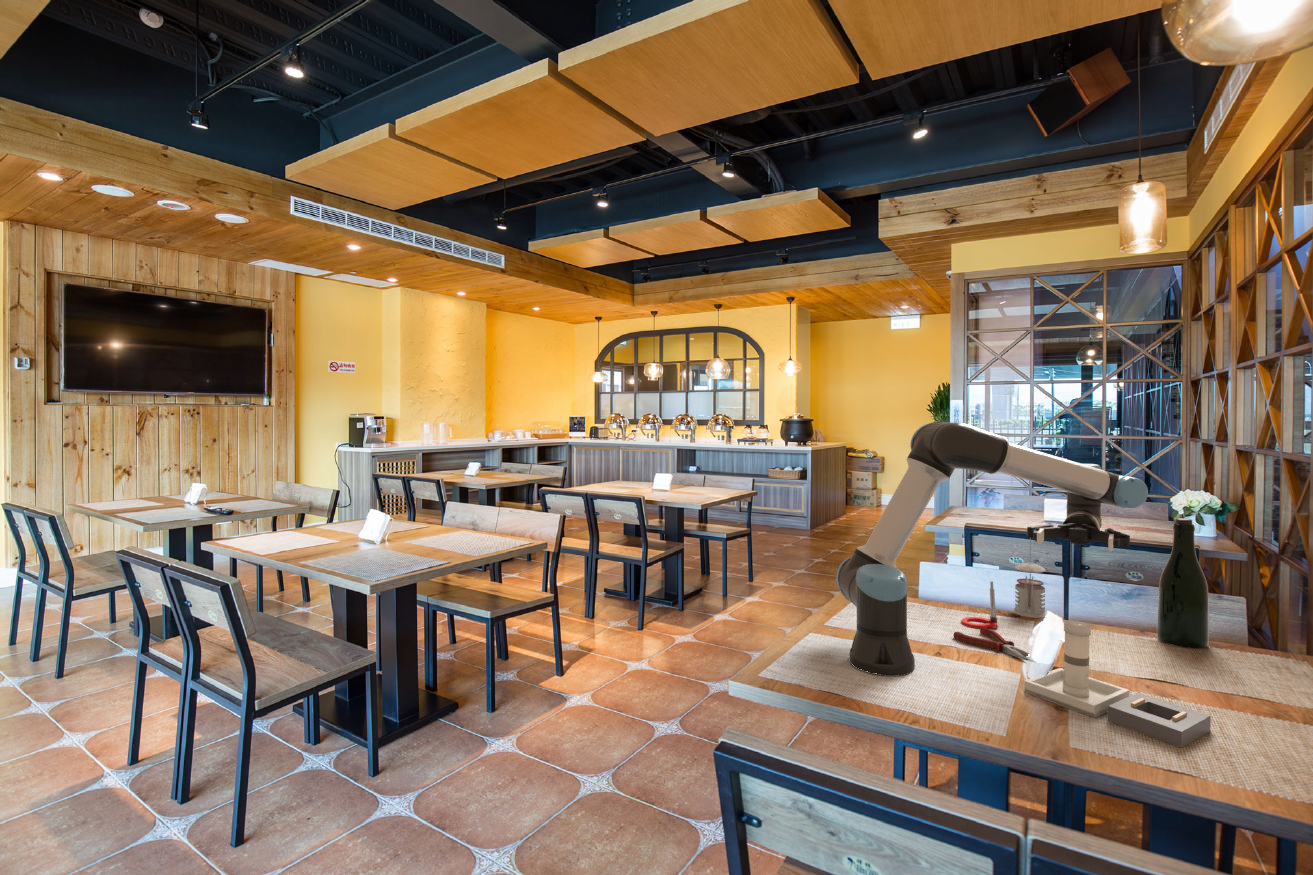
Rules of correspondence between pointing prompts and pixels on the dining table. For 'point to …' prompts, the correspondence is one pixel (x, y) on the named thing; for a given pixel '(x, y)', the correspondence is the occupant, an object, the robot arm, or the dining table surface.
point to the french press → (1029, 592)
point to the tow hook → (989, 622)
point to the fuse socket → (1159, 719)
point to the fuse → (1076, 658)
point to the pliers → (991, 643)
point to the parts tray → (1053, 692)
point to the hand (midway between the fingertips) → (1073, 541)
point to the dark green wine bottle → (1183, 593)
